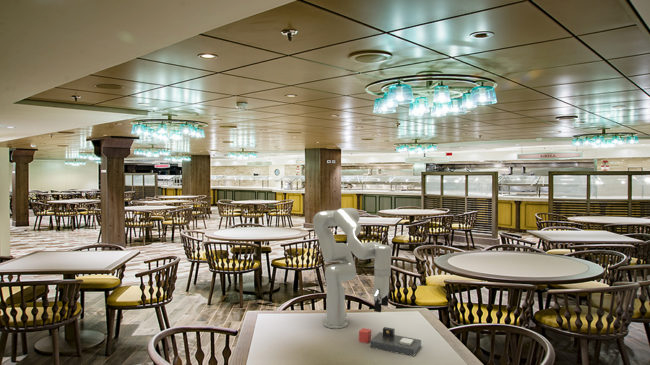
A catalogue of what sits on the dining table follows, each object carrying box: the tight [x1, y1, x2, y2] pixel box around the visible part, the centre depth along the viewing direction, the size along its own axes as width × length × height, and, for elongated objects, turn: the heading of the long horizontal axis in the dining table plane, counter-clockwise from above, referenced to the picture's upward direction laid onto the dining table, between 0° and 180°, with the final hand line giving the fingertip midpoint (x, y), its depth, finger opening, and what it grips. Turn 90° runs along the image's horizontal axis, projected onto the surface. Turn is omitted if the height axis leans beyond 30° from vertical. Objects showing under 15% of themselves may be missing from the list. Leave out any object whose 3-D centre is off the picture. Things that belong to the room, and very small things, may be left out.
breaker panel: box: [369, 327, 422, 356], centre depth 193 cm, size 12×20×6 cm, turn 62°
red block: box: [358, 327, 372, 344], centre depth 200 cm, size 4×4×5 cm
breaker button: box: [400, 338, 414, 346], centre depth 191 cm, size 5×5×3 cm
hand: (381, 308), depth 197 cm, fingers open, 9 cm apart
